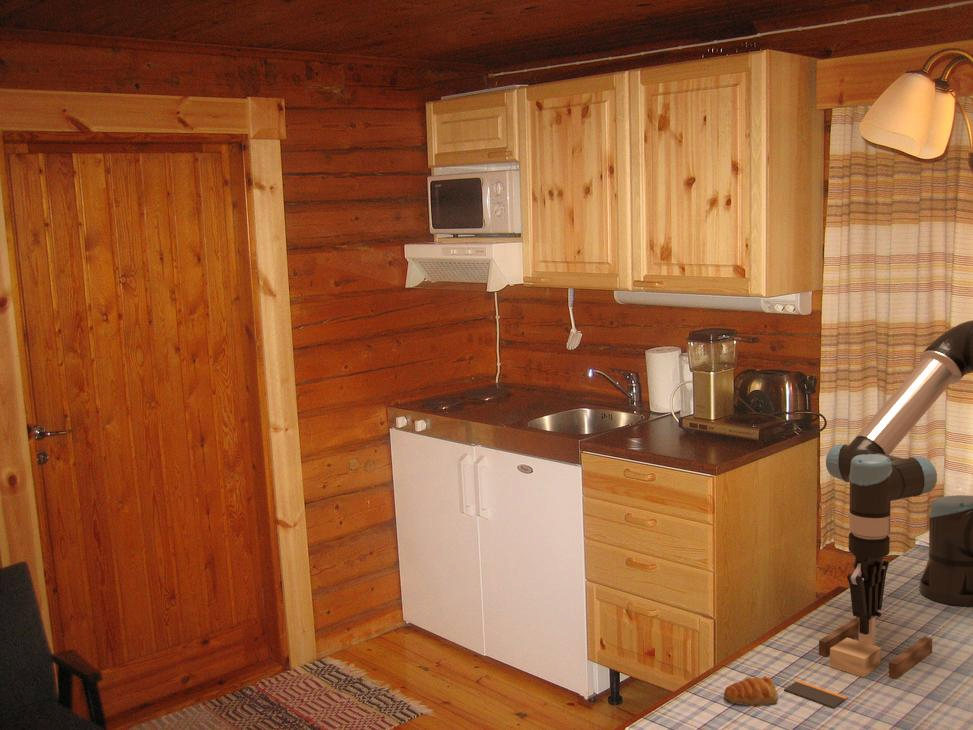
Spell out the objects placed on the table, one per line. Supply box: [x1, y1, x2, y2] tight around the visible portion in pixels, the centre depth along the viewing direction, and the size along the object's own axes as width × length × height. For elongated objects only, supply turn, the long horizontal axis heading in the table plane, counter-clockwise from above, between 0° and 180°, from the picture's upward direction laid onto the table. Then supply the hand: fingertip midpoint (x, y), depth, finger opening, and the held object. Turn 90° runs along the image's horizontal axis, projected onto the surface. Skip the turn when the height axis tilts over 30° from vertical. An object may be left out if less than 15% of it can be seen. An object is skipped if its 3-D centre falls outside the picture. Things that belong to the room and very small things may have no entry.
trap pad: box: [783, 679, 848, 709], centre depth 181 cm, size 5×10×1 cm, turn 43°
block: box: [829, 638, 882, 678], centre depth 192 cm, size 7×7×4 cm
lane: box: [818, 617, 933, 680], centre depth 197 cm, size 16×16×3 cm
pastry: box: [723, 676, 779, 706], centre depth 180 cm, size 9×7×4 cm
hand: (866, 647), depth 194 cm, fingers closed
